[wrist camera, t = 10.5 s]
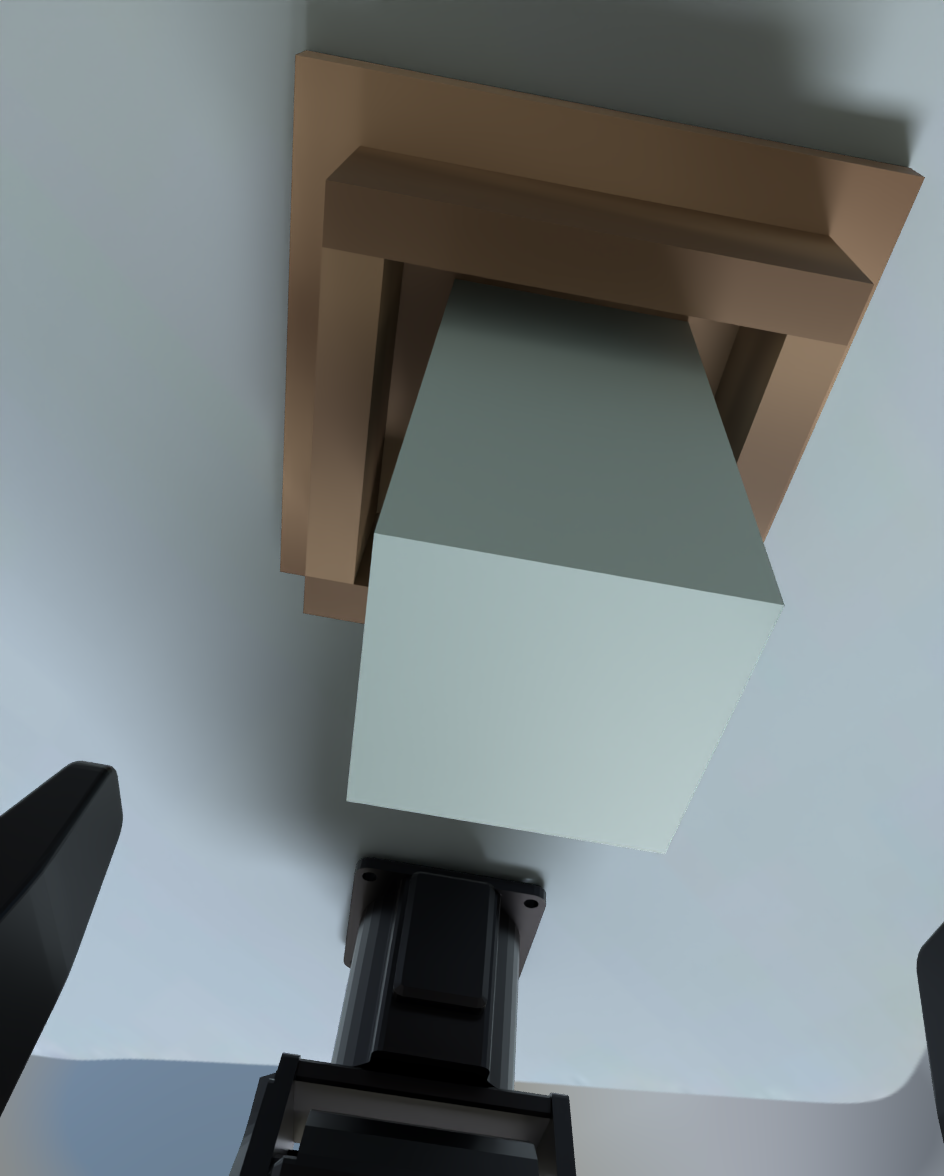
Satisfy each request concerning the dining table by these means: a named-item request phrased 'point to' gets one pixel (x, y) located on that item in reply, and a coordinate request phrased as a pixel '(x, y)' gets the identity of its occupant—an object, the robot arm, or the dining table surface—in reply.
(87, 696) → the dining table surface
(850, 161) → the walnut socket
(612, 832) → the painted peg
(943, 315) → the dining table surface
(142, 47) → the dining table surface
